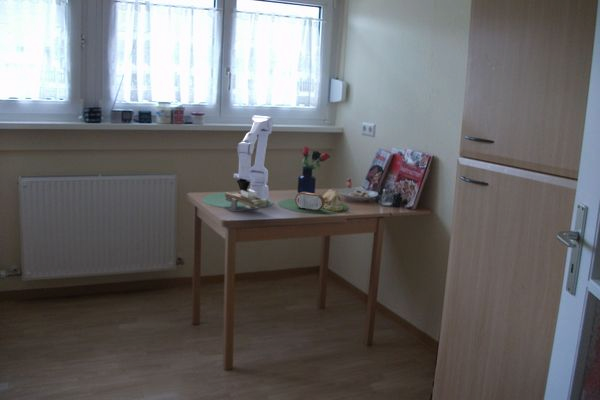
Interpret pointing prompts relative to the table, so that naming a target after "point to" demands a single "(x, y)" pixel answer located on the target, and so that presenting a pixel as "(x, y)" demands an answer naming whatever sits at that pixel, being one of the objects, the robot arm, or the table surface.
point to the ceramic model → (332, 200)
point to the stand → (235, 208)
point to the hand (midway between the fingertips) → (243, 194)
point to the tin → (309, 201)
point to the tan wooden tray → (246, 200)
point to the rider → (248, 194)
